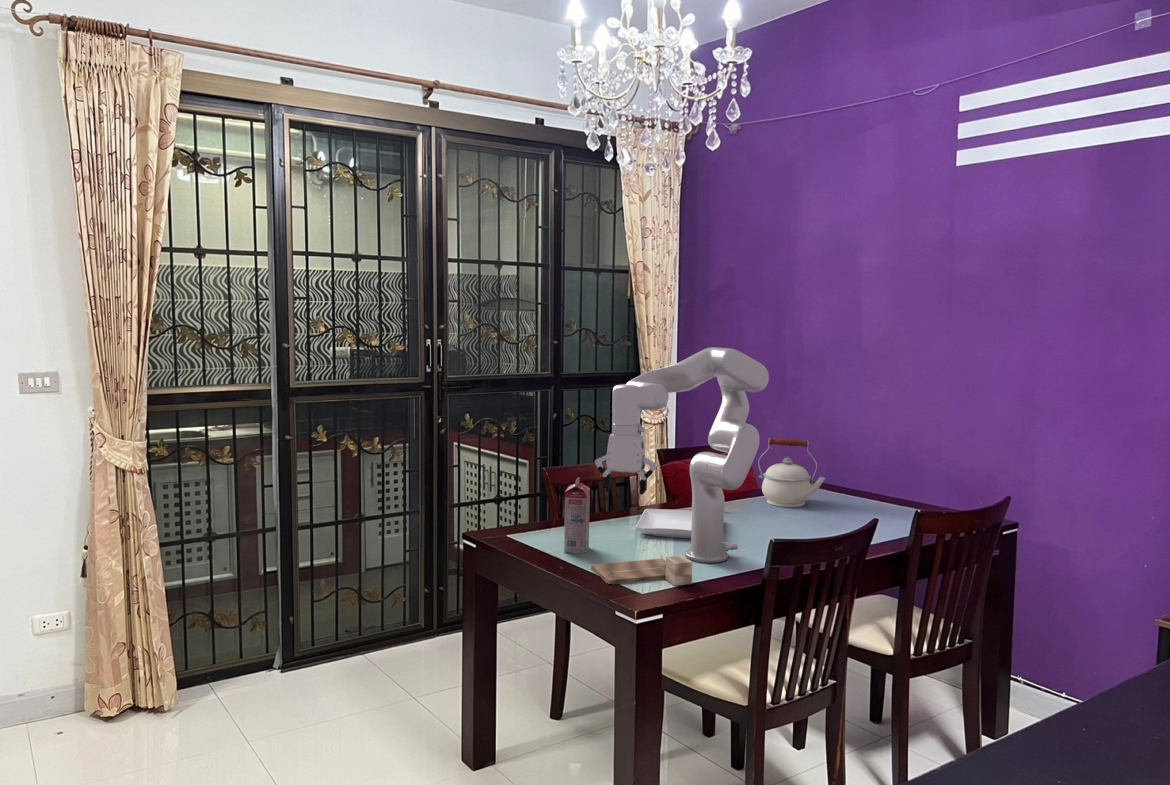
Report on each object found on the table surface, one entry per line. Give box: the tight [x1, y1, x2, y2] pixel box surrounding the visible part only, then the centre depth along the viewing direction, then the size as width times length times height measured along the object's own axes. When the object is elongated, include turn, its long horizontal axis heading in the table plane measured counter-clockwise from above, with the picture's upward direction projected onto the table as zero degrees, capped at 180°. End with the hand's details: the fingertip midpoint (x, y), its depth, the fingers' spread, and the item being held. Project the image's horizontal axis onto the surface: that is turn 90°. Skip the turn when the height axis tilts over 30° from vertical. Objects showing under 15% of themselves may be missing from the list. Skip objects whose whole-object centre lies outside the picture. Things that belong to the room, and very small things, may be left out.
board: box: [590, 558, 666, 585], centre depth 233 cm, size 22×14×1 cm, turn 109°
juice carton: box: [563, 476, 591, 554], centre depth 254 cm, size 7×7×22 cm
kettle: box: [757, 437, 826, 508], centre depth 319 cm, size 25×18×25 cm
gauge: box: [663, 555, 693, 586], centre depth 229 cm, size 5×12×6 cm, turn 19°
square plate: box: [634, 508, 692, 539], centre depth 280 cm, size 27×27×4 cm
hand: (625, 492), depth 228 cm, fingers open, 9 cm apart
